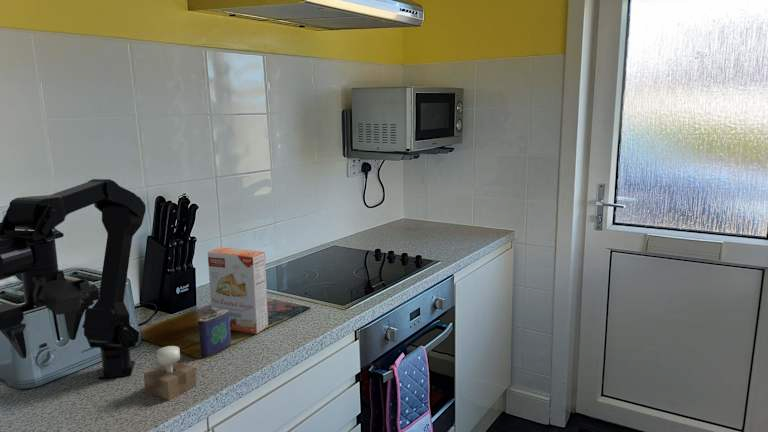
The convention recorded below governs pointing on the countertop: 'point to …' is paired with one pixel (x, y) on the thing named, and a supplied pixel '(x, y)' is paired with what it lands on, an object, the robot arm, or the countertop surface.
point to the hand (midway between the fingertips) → (49, 348)
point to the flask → (214, 332)
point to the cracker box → (239, 287)
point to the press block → (170, 380)
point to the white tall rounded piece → (168, 356)
